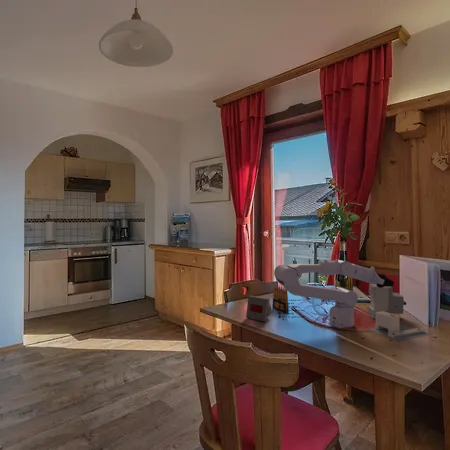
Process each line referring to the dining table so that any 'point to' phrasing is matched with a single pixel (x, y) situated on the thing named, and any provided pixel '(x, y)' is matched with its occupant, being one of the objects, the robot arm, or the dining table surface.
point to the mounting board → (401, 328)
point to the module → (387, 321)
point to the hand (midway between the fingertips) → (387, 281)
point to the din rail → (406, 333)
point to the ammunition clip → (283, 296)
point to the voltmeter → (263, 308)
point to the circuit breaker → (385, 301)
